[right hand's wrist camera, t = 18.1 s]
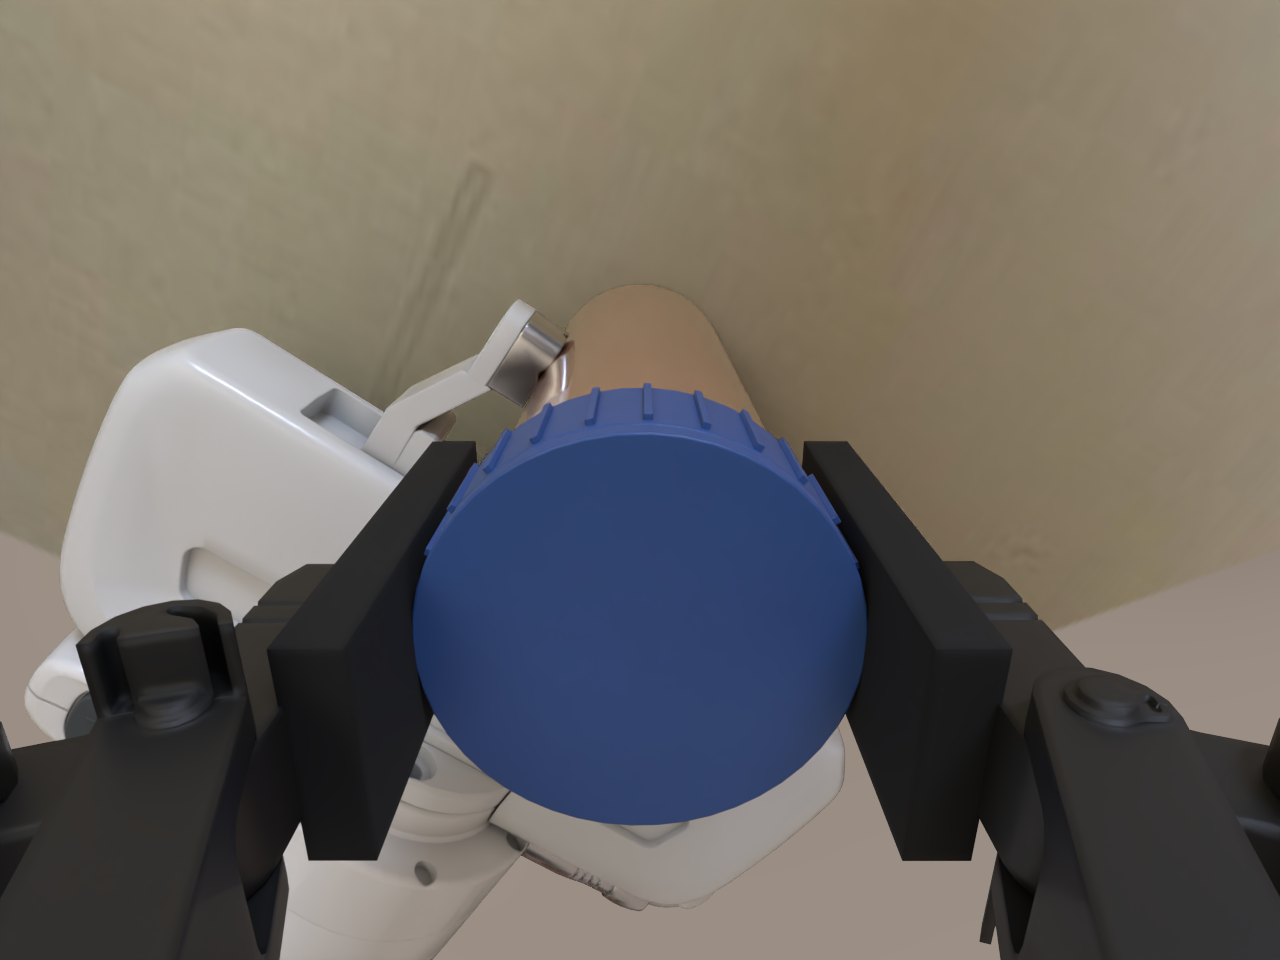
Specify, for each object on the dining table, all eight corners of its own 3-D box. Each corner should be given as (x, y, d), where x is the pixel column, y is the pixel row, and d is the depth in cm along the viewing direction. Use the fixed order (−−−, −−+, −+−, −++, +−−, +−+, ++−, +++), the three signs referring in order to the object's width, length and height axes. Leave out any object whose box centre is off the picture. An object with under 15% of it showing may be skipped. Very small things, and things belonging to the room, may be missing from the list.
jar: (758, 361, 25) (918, 603, 11) (646, 480, 26) (656, 832, 12) (631, 246, 24) (619, 344, 9) (521, 376, 25) (366, 634, 11)
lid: (410, 400, 11) (359, 448, 9) (836, 363, 11) (881, 406, 9) (477, 742, 13) (448, 843, 11) (834, 717, 13) (870, 815, 11)
